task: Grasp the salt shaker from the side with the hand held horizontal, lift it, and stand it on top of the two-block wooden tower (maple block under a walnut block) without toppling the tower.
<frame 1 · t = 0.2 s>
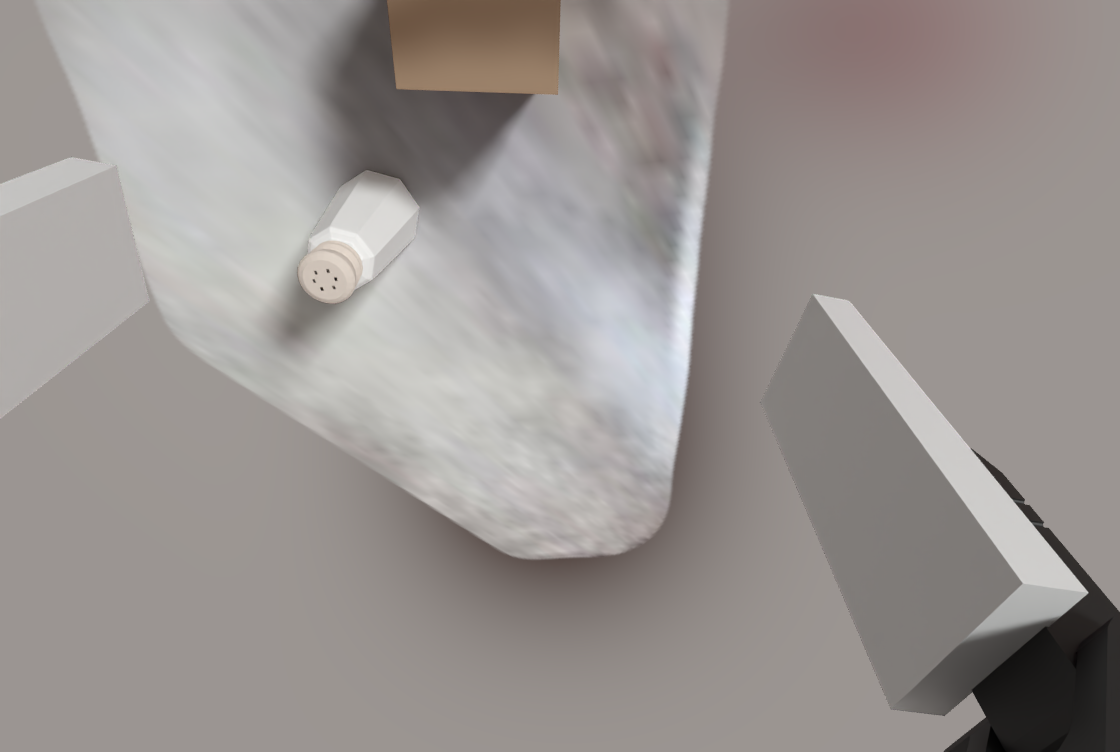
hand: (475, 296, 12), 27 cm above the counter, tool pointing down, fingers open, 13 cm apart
salt shaker: (380, 210, 38), on the counter
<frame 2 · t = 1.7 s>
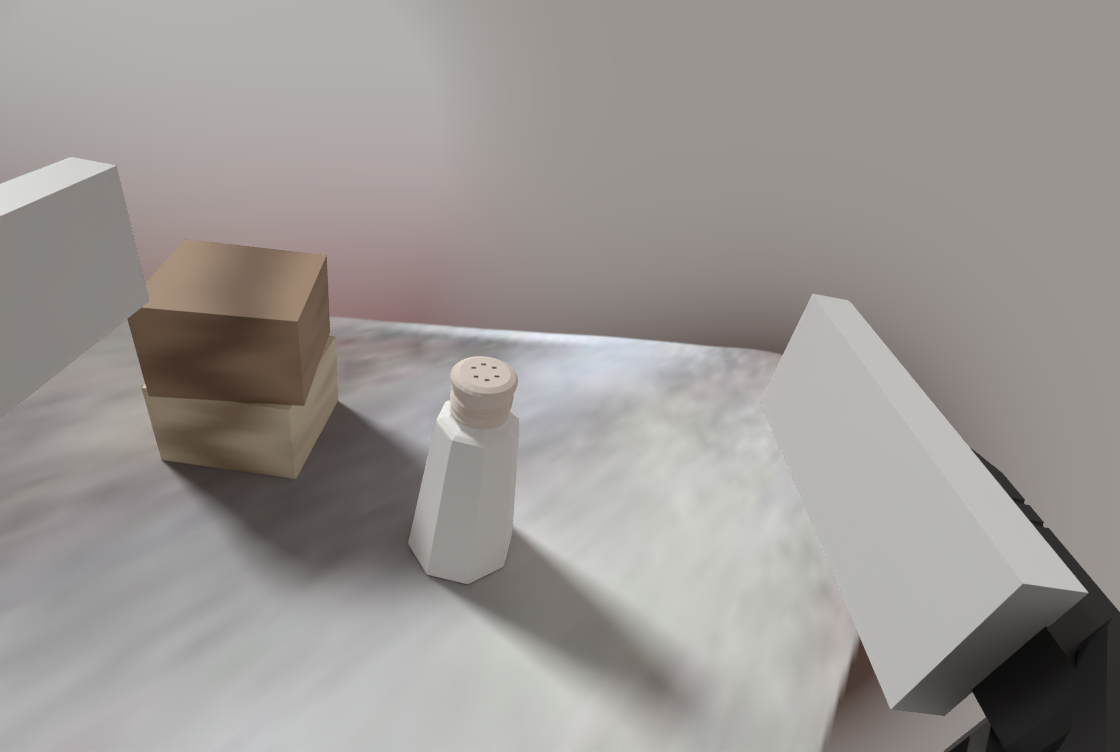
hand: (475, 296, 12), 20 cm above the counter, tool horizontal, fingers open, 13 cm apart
salt shaker: (460, 543, 31), on the counter
tower top: (249, 360, 32), point 5 cm above the counter, touching tower bottom
tower bottom: (258, 428, 34), on the counter, touching tower top
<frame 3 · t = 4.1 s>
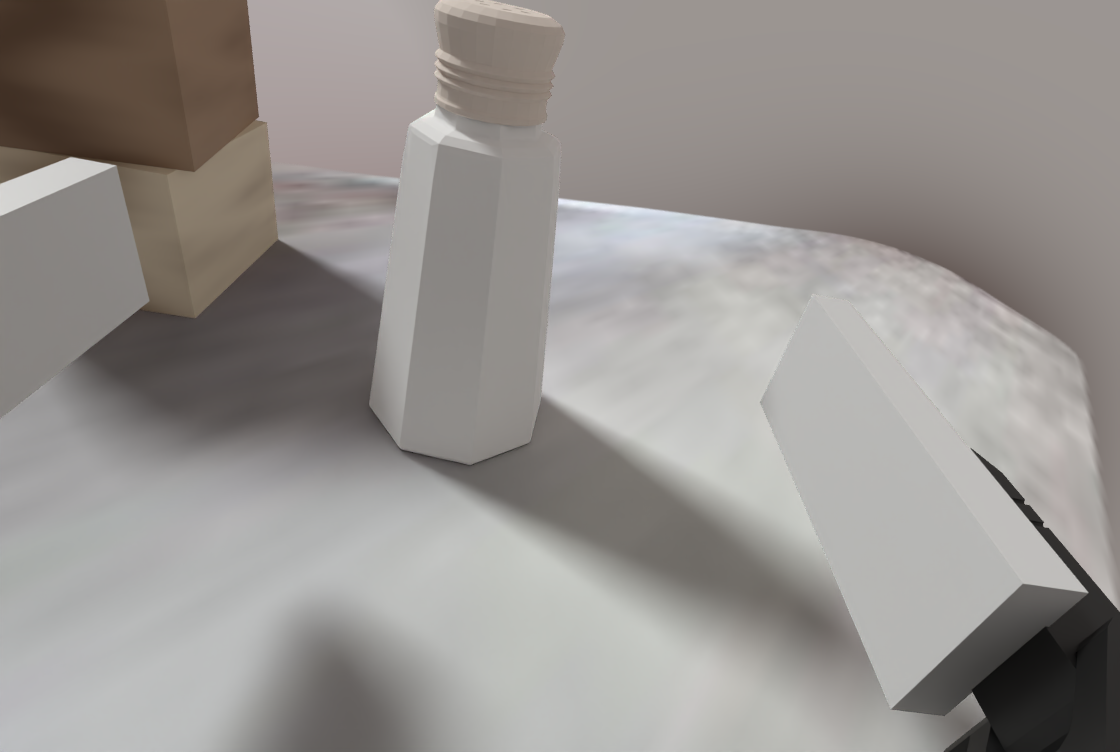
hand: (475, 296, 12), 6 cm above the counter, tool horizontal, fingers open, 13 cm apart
salt shaker: (457, 411, 19), on the counter
tower top: (117, 124, 20), point 5 cm above the counter, touching tower bottom
tower bottom: (147, 260, 23), on the counter, touching tower top
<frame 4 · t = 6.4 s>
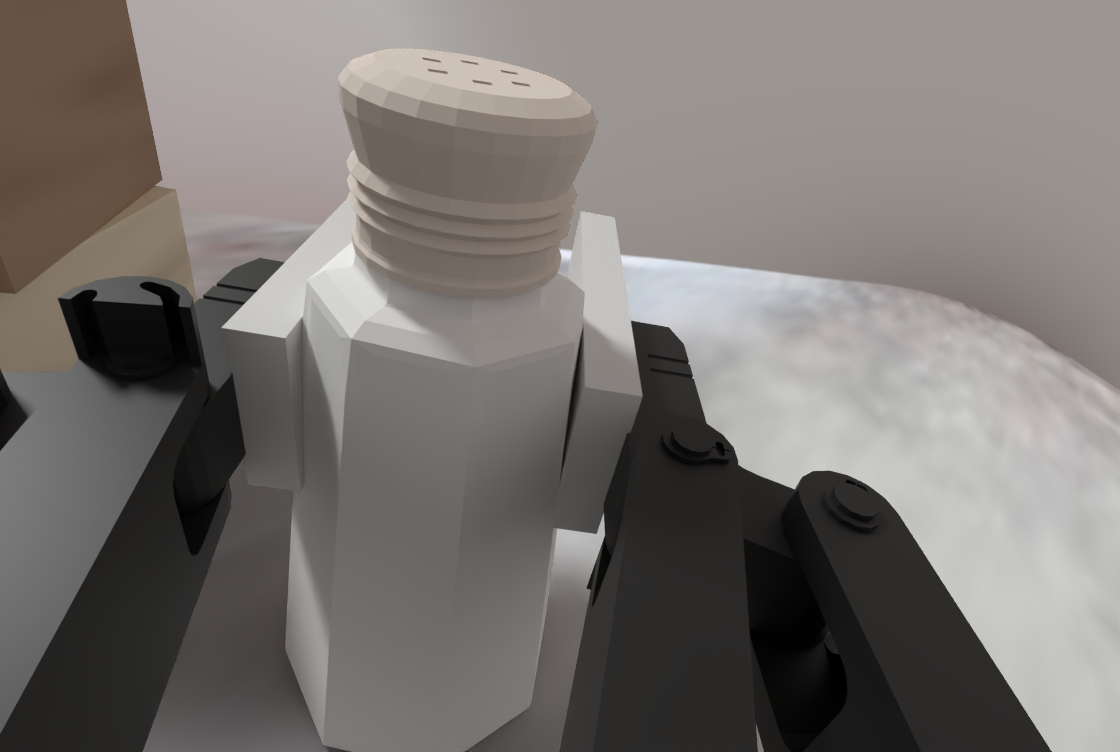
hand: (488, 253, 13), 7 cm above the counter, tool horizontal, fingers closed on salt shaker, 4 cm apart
salt shaker: (423, 639, 13), on the counter, touching gripper
tower bottom: (10, 379, 16), on the counter
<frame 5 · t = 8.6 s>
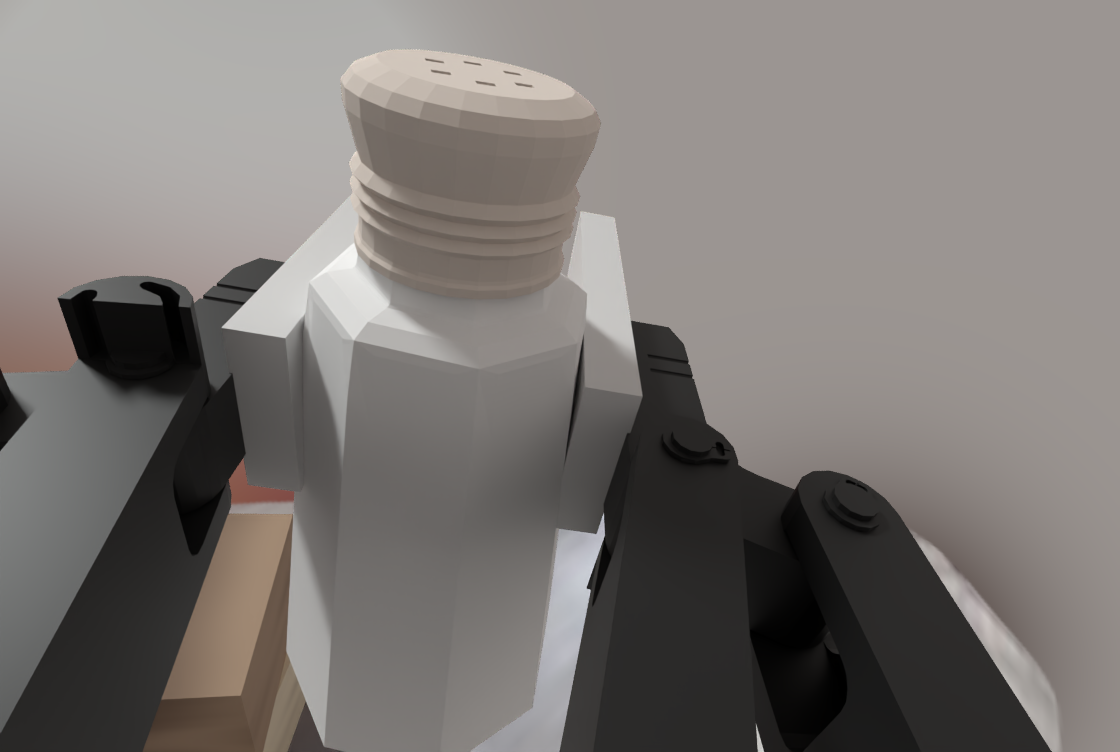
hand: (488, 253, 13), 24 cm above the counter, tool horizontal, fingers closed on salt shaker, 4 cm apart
salt shaker: (424, 640, 13), point 17 cm above the counter, touching gripper
tower top: (184, 671, 22), point 5 cm above the counter, touching tower bottom
tower bottom: (209, 731, 25), on the counter, touching tower top
when the fingers open (17 cm above the counter, at t = 10.9 s): salt shaker drops 1 cm, resting on tower top.
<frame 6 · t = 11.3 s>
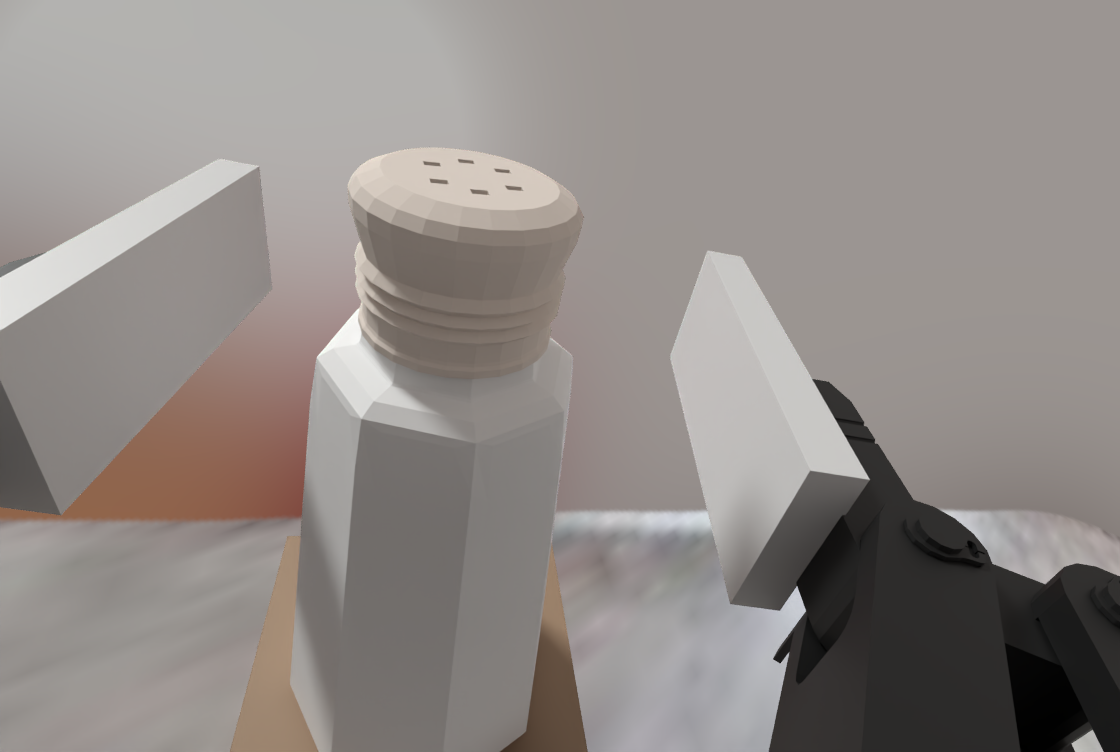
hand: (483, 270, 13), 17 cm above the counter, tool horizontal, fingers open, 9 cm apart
salt shaker: (422, 669, 13), point 10 cm above the counter, touching tower top
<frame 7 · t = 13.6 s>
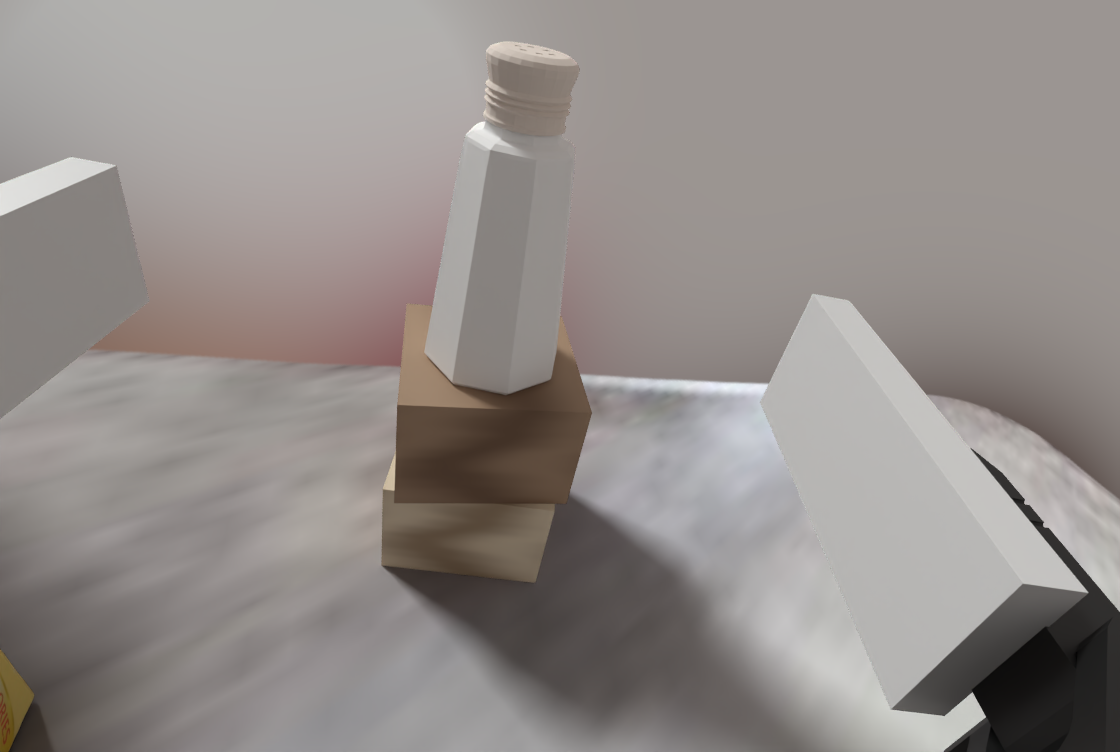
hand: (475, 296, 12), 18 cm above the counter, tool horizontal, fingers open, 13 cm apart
salt shaker: (491, 358, 24), point 10 cm above the counter, touching tower top
tower top: (478, 444, 27), point 5 cm above the counter, touching salt shaker, tower bottom
tower bottom: (469, 515, 30), on the counter, touching tower top
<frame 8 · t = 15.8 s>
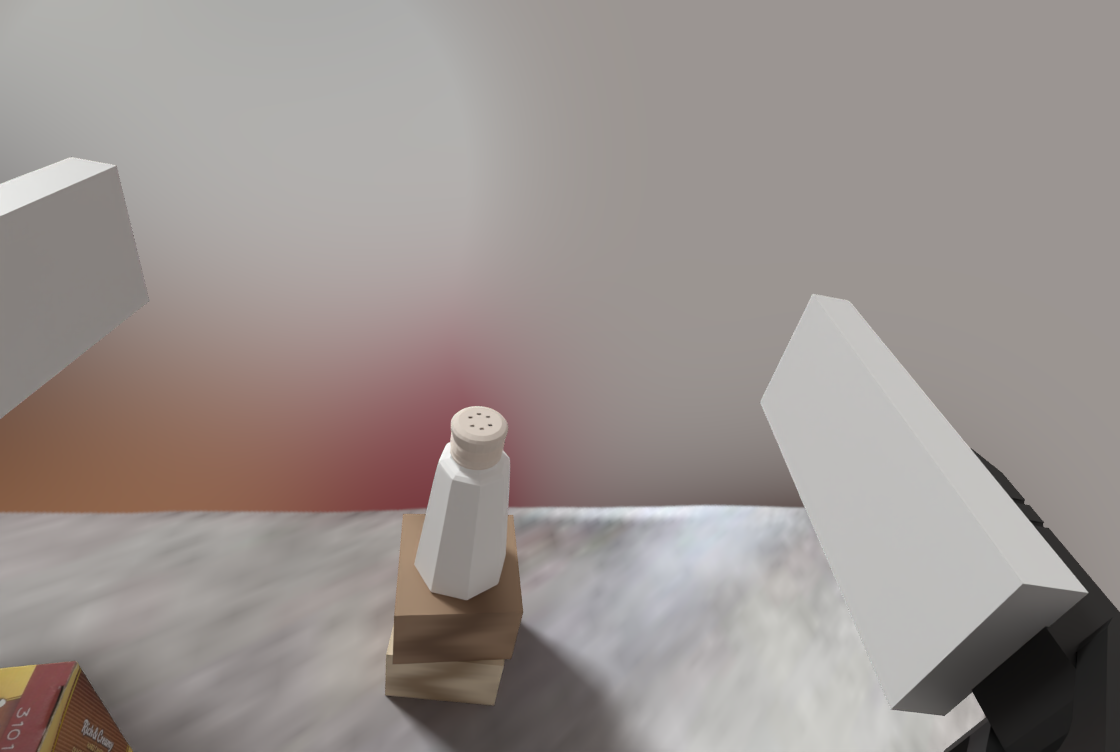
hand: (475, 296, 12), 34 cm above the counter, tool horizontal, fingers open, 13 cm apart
salt shaker: (460, 563, 35), point 10 cm above the counter, touching tower top
tower top: (453, 608, 38), point 5 cm above the counter, touching salt shaker, tower bottom
tower bottom: (448, 649, 41), on the counter, touching tower top
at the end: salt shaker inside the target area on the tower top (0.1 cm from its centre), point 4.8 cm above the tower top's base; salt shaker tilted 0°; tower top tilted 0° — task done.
